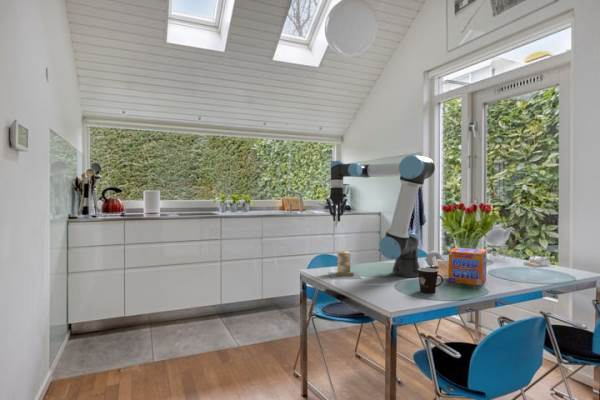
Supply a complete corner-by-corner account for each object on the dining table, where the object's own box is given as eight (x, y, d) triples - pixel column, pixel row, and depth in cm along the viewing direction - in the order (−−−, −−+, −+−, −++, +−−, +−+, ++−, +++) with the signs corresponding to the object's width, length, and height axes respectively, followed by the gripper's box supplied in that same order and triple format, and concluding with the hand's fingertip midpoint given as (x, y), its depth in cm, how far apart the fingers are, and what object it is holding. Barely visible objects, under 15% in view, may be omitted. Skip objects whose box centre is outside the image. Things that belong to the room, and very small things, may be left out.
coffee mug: (414, 289, 168) (414, 267, 167) (432, 289, 168) (432, 267, 168) (425, 296, 156) (425, 273, 156) (444, 296, 157) (444, 273, 157)
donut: (440, 266, 220) (440, 250, 220) (443, 267, 217) (443, 250, 217) (424, 267, 219) (425, 250, 218) (427, 268, 215) (428, 251, 215)
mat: (356, 273, 201) (356, 269, 201) (362, 280, 185) (362, 275, 185) (327, 273, 200) (327, 269, 200) (331, 280, 184) (331, 275, 184)
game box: (482, 286, 174) (482, 253, 173) (448, 281, 182) (448, 251, 182) (486, 279, 187) (486, 249, 187) (454, 276, 195) (454, 247, 195)
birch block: (348, 273, 199) (348, 251, 198) (350, 275, 193) (350, 253, 192) (337, 273, 199) (337, 251, 198) (338, 275, 193) (339, 253, 192)
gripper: (349, 187, 216) (348, 226, 216) (327, 187, 220) (327, 226, 220) (346, 186, 209) (346, 227, 209) (324, 187, 213) (324, 227, 213)
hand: (336, 226), depth 215 cm, fingers closed
